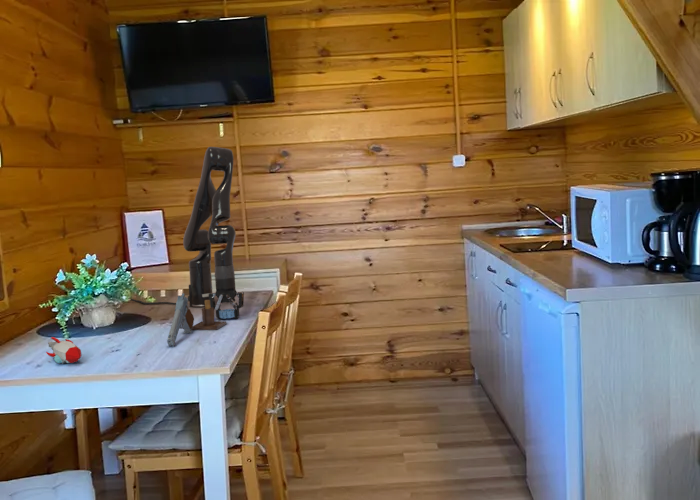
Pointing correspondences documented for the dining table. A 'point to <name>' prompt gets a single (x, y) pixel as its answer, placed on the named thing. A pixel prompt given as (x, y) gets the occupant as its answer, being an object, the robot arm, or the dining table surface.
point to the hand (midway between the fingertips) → (227, 318)
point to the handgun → (180, 319)
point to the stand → (208, 319)
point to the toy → (64, 351)
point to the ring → (226, 313)
